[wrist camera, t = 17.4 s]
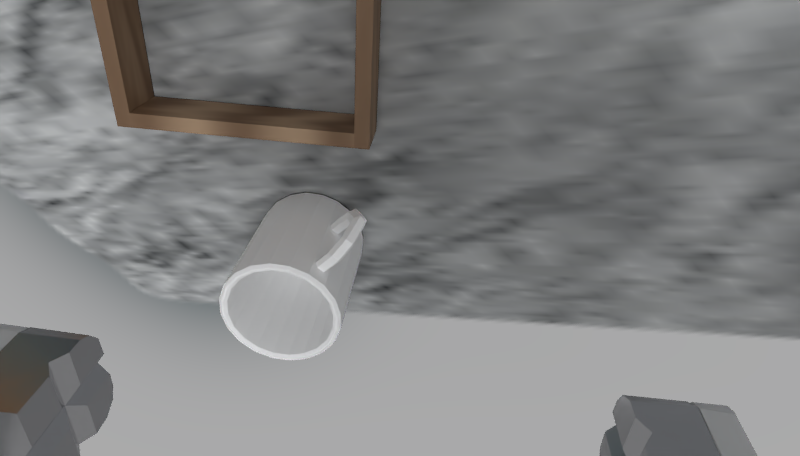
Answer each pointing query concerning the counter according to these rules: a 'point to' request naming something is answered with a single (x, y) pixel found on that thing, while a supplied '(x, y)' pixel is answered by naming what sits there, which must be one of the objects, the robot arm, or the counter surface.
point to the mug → (295, 278)
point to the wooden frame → (146, 111)
